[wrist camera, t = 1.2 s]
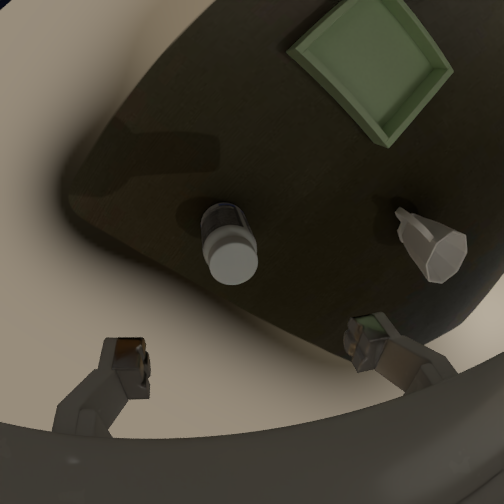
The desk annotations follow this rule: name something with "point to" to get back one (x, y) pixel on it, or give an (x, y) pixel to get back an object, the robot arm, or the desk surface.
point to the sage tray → (374, 64)
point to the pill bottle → (228, 244)
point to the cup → (432, 245)
